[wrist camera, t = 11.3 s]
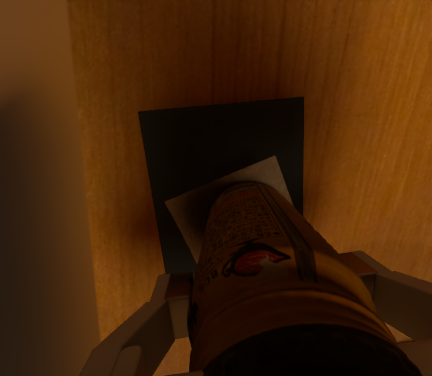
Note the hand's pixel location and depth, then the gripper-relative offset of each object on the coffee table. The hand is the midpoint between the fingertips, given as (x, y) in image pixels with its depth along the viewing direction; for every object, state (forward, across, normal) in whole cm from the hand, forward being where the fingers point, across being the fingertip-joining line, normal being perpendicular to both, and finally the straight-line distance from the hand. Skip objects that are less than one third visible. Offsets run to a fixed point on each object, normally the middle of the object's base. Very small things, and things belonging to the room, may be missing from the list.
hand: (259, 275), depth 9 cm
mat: (+11, 0, 0) cm, 11 cm away
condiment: (+6, 0, 0) cm, 6 cm away
